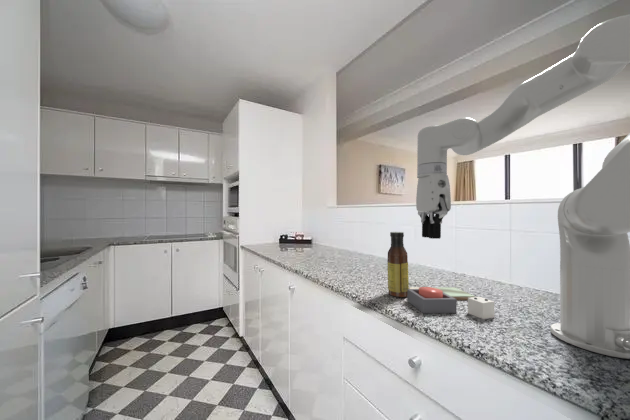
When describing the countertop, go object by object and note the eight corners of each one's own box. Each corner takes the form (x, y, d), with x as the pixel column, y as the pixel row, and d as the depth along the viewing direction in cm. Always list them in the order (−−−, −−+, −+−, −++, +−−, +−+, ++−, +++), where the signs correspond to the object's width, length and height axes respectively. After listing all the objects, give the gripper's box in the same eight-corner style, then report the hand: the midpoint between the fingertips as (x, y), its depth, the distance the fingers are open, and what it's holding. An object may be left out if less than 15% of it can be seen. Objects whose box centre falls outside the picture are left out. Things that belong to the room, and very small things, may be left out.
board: (477, 299, 74) (477, 296, 74) (421, 300, 73) (421, 296, 73) (455, 289, 84) (455, 287, 84) (406, 290, 82) (406, 287, 83)
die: (494, 317, 61) (494, 300, 61) (482, 319, 60) (482, 301, 60) (478, 311, 65) (479, 295, 65) (467, 313, 64) (467, 296, 64)
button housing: (456, 312, 63) (456, 299, 64) (423, 313, 63) (423, 299, 63) (436, 300, 72) (436, 288, 72) (407, 301, 72) (407, 289, 72)
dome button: (447, 304, 65) (447, 293, 65) (425, 305, 64) (425, 293, 64) (434, 297, 71) (434, 286, 71) (414, 297, 70) (414, 286, 70)
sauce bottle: (405, 292, 80) (406, 231, 80) (411, 298, 74) (412, 233, 74) (385, 291, 81) (386, 231, 81) (389, 297, 74) (389, 232, 75)
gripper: (464, 166, 61) (463, 241, 60) (428, 177, 77) (428, 235, 76) (435, 165, 60) (434, 240, 60) (405, 176, 76) (405, 235, 76)
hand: (431, 237), depth 68 cm, fingers open, 2 cm apart
